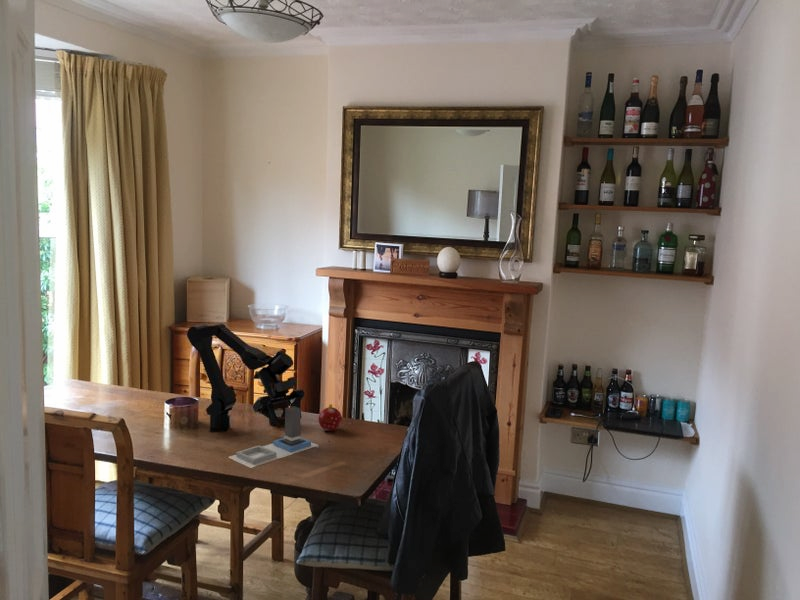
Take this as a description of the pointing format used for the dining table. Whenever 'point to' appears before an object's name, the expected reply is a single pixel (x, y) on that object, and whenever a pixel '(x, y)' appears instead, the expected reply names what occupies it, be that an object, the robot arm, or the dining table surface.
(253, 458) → the board
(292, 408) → the plug
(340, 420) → the christmas ornament
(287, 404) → the coffee mug
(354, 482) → the dining table surface
